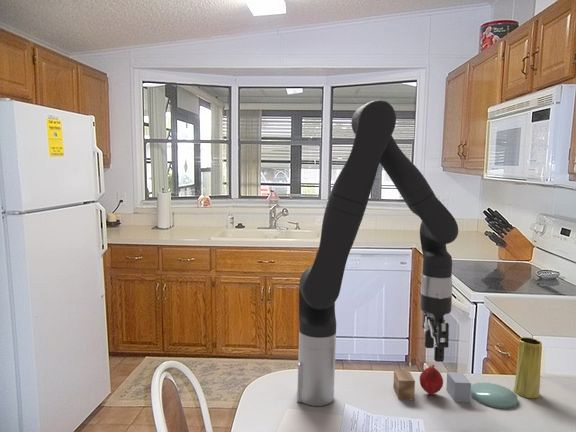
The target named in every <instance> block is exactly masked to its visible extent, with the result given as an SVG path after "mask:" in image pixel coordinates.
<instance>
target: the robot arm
mask: <svg viewBox="0 0 576 432" xmlns="http://www.w3.org/2000/svg"><path fill="white" fill-rule="evenodd" d="M350 123H351V124H350V125H351V128H352V131H353V133H354V140H353V143H352V147H351V150H350V153H349V155H348V158H347V160H346V161H345V164H344V166H343V167H342V169H341V170H340V172H339V173H338V176H337V178H336V179H335V181H334V184H333V186H332V189H331V190H330V194H329V197H328V200H327V203H326V205H325V206H326V207H325V208H324V209H325V210H324V214H323V218H322V225H321V230H320V242H319V246H318V250H317V253H316V256H315V259H314V261H313V263H312V266H310V267H308V268H306V269H305V270H304V271H303V272H302V274H301V275H300V279H299V283H298V284H299V287H298V325H299V327H298V329H299V330H298V334H299V335H298V359H297V389H296V390H297V395H296V396H297V398H296V399H297V400H296V402H297V403H303V404H305V405H309V406H313V407H321V406H328V405H329V404H331V403H332V402H333V401H334V398H335V397H334V396H335V373H336V372H335V371H336V349H337V348H336V344H337V343H336V342H337V319H336V308H335V307H336V303H335V302H336V301H337V300H338V298H339V296H340V292H341V290H342V289H341V288H342V283H343V278H344V274H345V269H346V265H347V262H348V257H349V255H350V252H351V250H352V247H353V245H354V242H355V240H356V237H357V236H358V235H357V234H358V232H359V229H360V226H361V224H362V221H363V218H364V215H365V212H366V209H367V206H368V202H369V201H370V200H369V199H370V195H371V193H372V190H373V187H374V183H375V179H376V176H377V172H378V169H379V166H380V165H381V167H382V168H383V170H384V171H385V172H386V174H387V175H388V177H389V179H390V180H391V182H392V183H393V184H394V186H395V188H396V191H398V192H399V194H400V196H401V198H402V199H403V201H404V202H405V204H406V206H407V207H408V209H409V210H410V211H411V212H412V213H413V214H414V215H416V216H417V217H418V218H419V219H420V220H421V222H420V227H419V240H420V245H421V246H420V247H421V251H422V252H421V253H422V258H423V260H422V275H421V282H420V283H421V284H420V305H419V306H420V310H421V311H422V325H421V327H422V329H423V332H424V347H425V348H426V349H433V348H434V349H433V350H434V352H433V353H434V354H433V360H434V361H435V362H436V363H440V362H441V363H443V362H445V361H444V360H445V348H449V336H450V335H449V333H450V330H449V329H450V325H449V323H448V322H446V320H445V318H444V316H445V315H448V314H450V313H452V304H453V301H452V300H453V299H452V298H453V279H452V277H453V257H452V256H451V254H450V253H449V252H448V249H447V245H448V244H451V243H453V242H454V241H455V240H456V239H457V237H458V235H459V226H458V225H459V224H458V223H457V221H456V219H455V217H454V216H453V214H452V213H451V212H450V211H449V209H448V208H447V207H446V206H445V205H444V204H443V203H442V201H441V200H439V199H438V197H437V196H436V194H435V192H434V191H433V189H432V188H431V185H430V184H429V182H428V181H427V179H426V177H425V176H424V175H423V174H422V172H421V171H420V169H418V167H417V166H416V165H415V164H413V162H412V161H411V160H410V159H409V158H408V157H407V155H405V154H404V152H403V151H402V150H401V148H400V146H399V145H398V144H397V143H396V141H395V139H394V137H393V133H394V131H395V128H396V126H397V125H396V124H397V114H396V111H395V109H394V107H393V106H392V104H391V103H389V102H388V101H386V100H382V99H377V100H376V99H375V100H372V101H369V102H367V103H366V104H363V105H362V106H359V107H358V108H357V109H356V110H355V111H354V112H353V115H352V116H351V121H350Z"/></svg>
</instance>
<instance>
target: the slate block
mask: <svg viewBox="0 0 576 432" xmlns="http://www.w3.org/2000/svg"><path fill="white" fill-rule="evenodd" d="M471 385H472V382H471V381H470V380H469V378H468V377H467V376H466V374H464V372H458V371H456V372H455V371H453V372H452V371H447V372H446V386H445V387H446V388H445V390H446V392H447V393H448V394H449V397H451V399H452V401H453V402H460V403H463V402H464V403H470V402H471V395H470V393H471Z"/></svg>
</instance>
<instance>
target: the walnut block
mask: <svg viewBox="0 0 576 432" xmlns="http://www.w3.org/2000/svg"><path fill="white" fill-rule="evenodd" d="M392 385H393V387H392V388H393V389H394V393H395V395H396V397H397V399H398V400H411V401H413V400H415V392H416V391H415V390H416V389H415V387H416V380H415V378H414V377H413V375H412V373H411V371H410V370H406V369H405V370H403V369H394V370H393V384H392Z"/></svg>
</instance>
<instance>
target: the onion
mask: <svg viewBox="0 0 576 432" xmlns="http://www.w3.org/2000/svg"><path fill="white" fill-rule="evenodd" d="M443 379H444V378H443V376H442V374H441V372H440V371H439V370H438V369H436V367H435V364H433V363H431V364H430V365H429V367H427V368H425V369H423V370H422V372H421V373H420V375H419V384H420V387H421V388H422V389H423V390H424V391H425V393H426V394H428V395H431V396H432V395H434V394H436V393H438V392H440V391H441V390H442V388H443V385H444V380H443Z"/></svg>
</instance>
